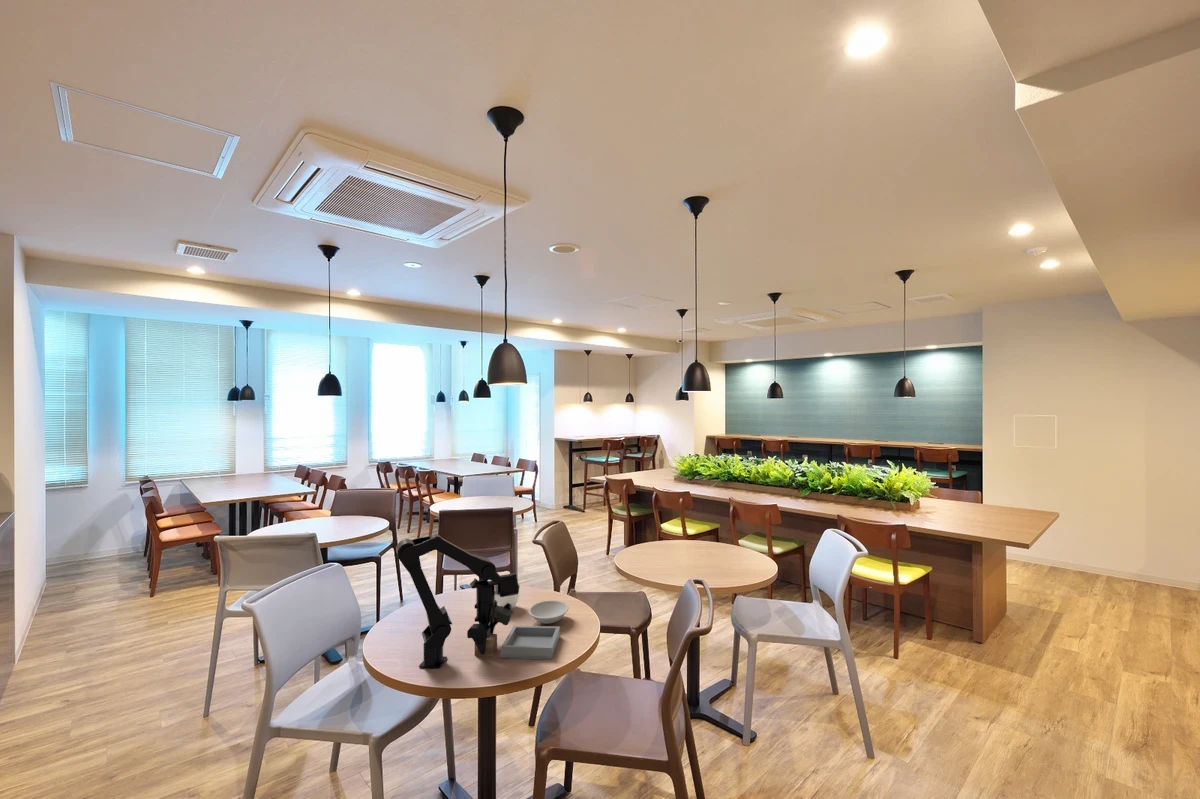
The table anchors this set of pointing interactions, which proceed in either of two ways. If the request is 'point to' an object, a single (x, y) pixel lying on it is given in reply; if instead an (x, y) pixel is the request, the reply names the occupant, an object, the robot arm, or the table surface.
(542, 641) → the tray
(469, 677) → the table surface
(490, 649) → the walnut block
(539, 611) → the dish
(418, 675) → the table surface
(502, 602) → the lidded bowl
